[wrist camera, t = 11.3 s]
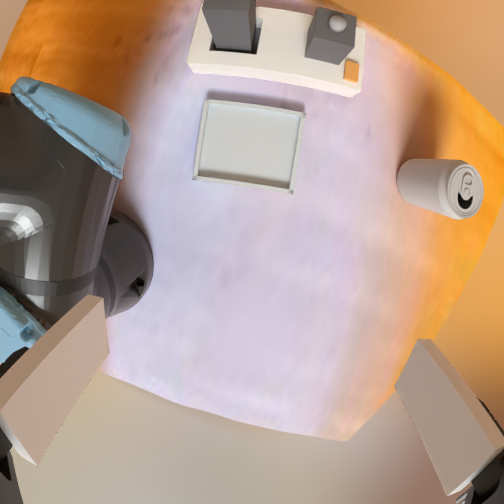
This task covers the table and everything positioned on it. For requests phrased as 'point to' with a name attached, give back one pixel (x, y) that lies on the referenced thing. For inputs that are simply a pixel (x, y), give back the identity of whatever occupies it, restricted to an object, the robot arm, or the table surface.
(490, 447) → the robot arm
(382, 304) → the table surface
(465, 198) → the beverage can
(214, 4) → the plug
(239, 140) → the tray
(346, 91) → the strip
